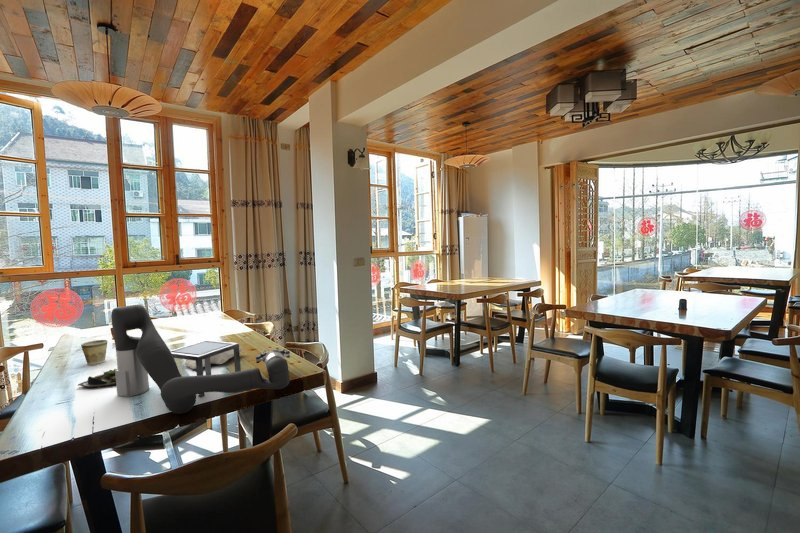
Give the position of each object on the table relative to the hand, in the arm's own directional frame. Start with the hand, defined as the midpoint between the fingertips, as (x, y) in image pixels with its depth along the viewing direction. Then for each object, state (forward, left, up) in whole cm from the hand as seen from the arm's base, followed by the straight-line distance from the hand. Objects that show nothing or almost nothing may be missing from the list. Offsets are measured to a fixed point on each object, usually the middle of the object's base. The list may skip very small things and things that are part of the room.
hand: (271, 351), depth 167 cm
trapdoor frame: (-24, +12, -7) cm, 28 cm away
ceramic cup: (-19, +93, -8) cm, 95 cm away
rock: (-1, +33, -8) cm, 34 cm away
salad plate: (-34, +56, -8) cm, 66 cm away
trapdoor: (-24, +12, +7) cm, 28 cm away
